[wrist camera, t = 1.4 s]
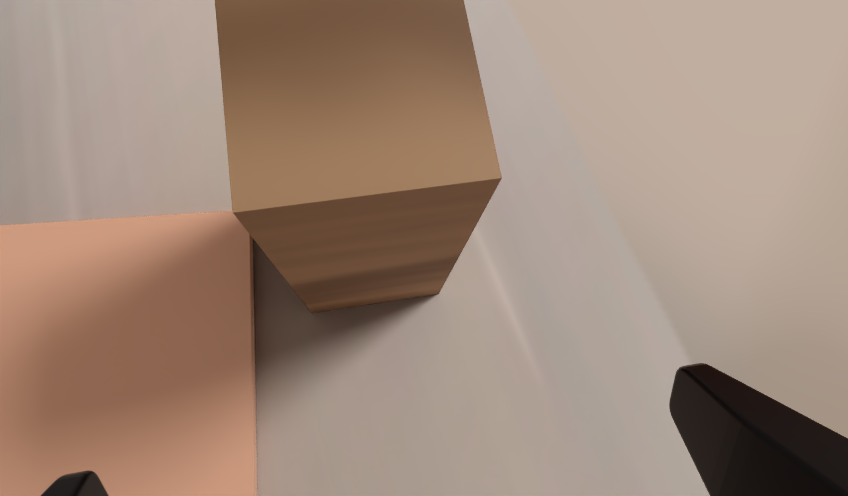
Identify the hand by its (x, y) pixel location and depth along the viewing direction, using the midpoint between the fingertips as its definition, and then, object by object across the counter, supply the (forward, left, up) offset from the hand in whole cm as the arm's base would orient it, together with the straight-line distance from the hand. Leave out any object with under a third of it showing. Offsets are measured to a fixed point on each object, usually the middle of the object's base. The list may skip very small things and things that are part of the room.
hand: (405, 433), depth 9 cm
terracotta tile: (+3, +10, -13) cm, 17 cm away
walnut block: (+7, 0, -13) cm, 14 cm away
